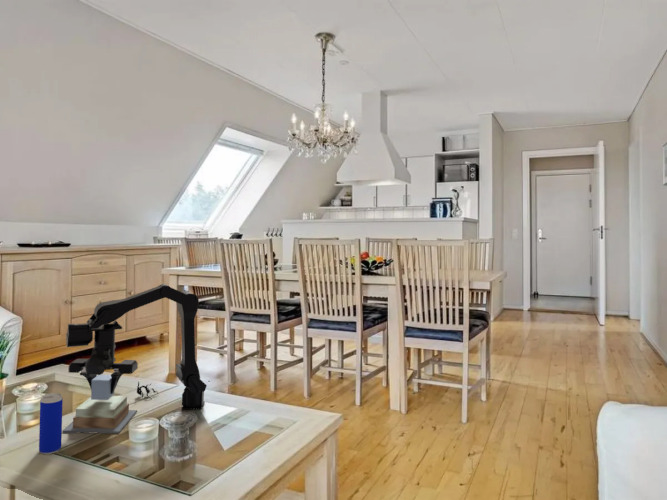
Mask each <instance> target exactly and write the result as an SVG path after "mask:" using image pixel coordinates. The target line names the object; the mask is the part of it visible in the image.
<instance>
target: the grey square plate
mask: <svg viewBox="0 0 667 500" xmlns="http://www.w3.org/2000/svg"><path fill="white" fill-rule="evenodd" d="M136 412H137V413H138V410H137V409H129V413H128V414H127V415H126V416H125V417H124V418H123V420H122V421H121V422H120V423H119V424H118V425H117V426H116V427H115V428H73V421H71V423H69V424H68V425H67V426H66V427H64V428H63V429H62V434H63V433H65V434H66V433H69V434H71V433H72V434H73V433H76V432H97V433H96V434H120V433H121V432H122V430H124V428H125V427H126V425H128V423H130V421H131V419H132V418H133V417H134V416H135V415H136V414H137V413H136ZM135 413H136V414H135ZM76 434H77V433H76Z"/></svg>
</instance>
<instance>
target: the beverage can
mask: <svg viewBox="0 0 667 500" xmlns="http://www.w3.org/2000/svg"><path fill="white" fill-rule="evenodd" d="M63 399H64V398H63V395H62V394H61V393H58V392H51V393H45V394H44V395H41V399H40V401H39V402H40V403H39V429H38V431H39V437H38V439H39V440H38V451H39V452H40V453H41V454H42V455H52V453H53V454H55V452H56V453H57V452H60V450H61V448H62V439H63V438H62V436H63V435H62V434H63V433H62V432H63V428H62V427H63V401H64V400H63Z"/></svg>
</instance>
